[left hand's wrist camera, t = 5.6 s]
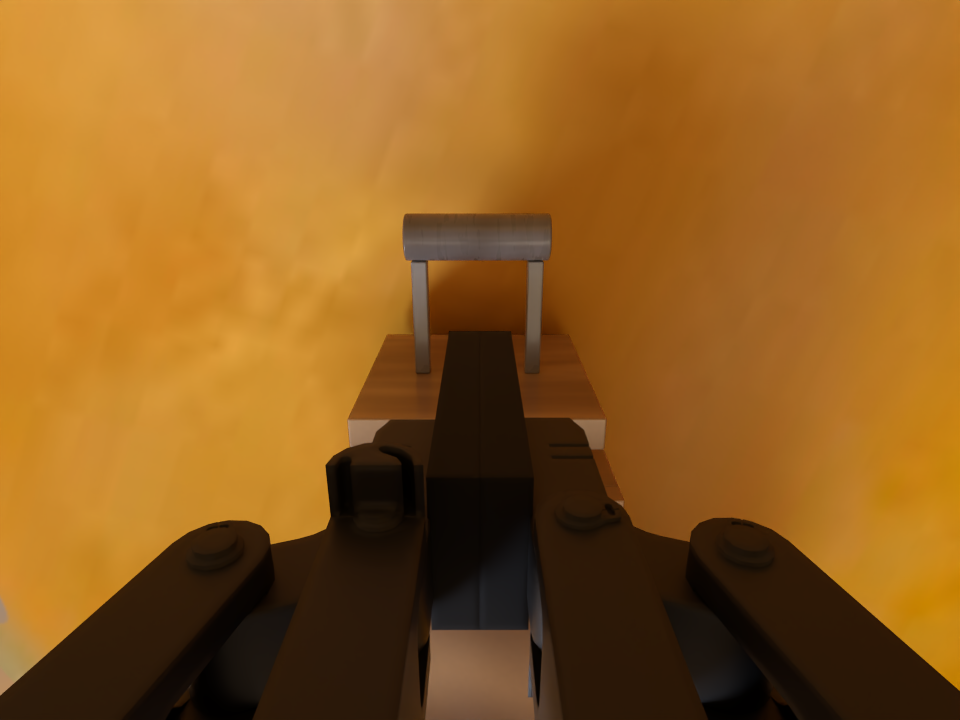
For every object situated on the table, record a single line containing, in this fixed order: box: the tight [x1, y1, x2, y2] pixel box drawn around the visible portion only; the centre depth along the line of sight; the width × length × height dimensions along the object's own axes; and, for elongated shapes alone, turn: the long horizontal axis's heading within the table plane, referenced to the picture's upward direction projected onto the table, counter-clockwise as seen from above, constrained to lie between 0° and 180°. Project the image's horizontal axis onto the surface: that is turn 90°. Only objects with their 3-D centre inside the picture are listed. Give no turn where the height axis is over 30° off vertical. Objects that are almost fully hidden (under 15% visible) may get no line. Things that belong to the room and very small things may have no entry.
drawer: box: [348, 214, 607, 450], centre depth 27 cm, size 26×9×9 cm, turn 0°
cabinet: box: [425, 449, 624, 720], centre depth 29 cm, size 20×10×11 cm, turn 0°
